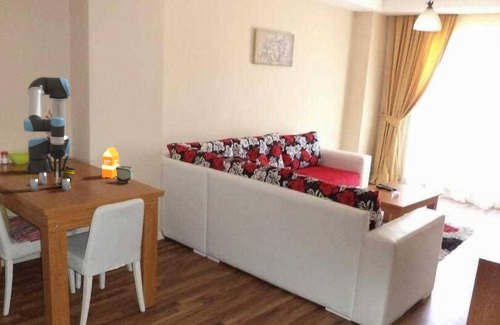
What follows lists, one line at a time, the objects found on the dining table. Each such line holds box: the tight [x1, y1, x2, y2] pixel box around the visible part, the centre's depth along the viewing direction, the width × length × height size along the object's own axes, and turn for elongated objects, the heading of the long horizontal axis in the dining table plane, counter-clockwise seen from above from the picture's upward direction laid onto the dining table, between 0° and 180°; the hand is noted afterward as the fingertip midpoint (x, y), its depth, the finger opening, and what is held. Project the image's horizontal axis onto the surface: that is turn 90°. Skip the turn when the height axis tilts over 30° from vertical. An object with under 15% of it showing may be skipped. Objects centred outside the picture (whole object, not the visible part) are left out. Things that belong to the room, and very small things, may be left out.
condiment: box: [55, 165, 76, 189], centre depth 257 cm, size 7×8×12 cm
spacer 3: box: [61, 178, 71, 192], centre depth 251 cm, size 4×4×7 cm
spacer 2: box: [38, 172, 48, 186], centre depth 261 cm, size 4×4×7 cm
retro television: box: [115, 165, 133, 185], centre depth 279 cm, size 12×6×10 cm, turn 65°
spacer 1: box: [29, 177, 39, 193], centre depth 246 cm, size 4×4×7 cm
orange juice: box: [101, 146, 120, 179], centre depth 290 cm, size 8×9×20 cm
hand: (57, 182), depth 256 cm, fingers closed
